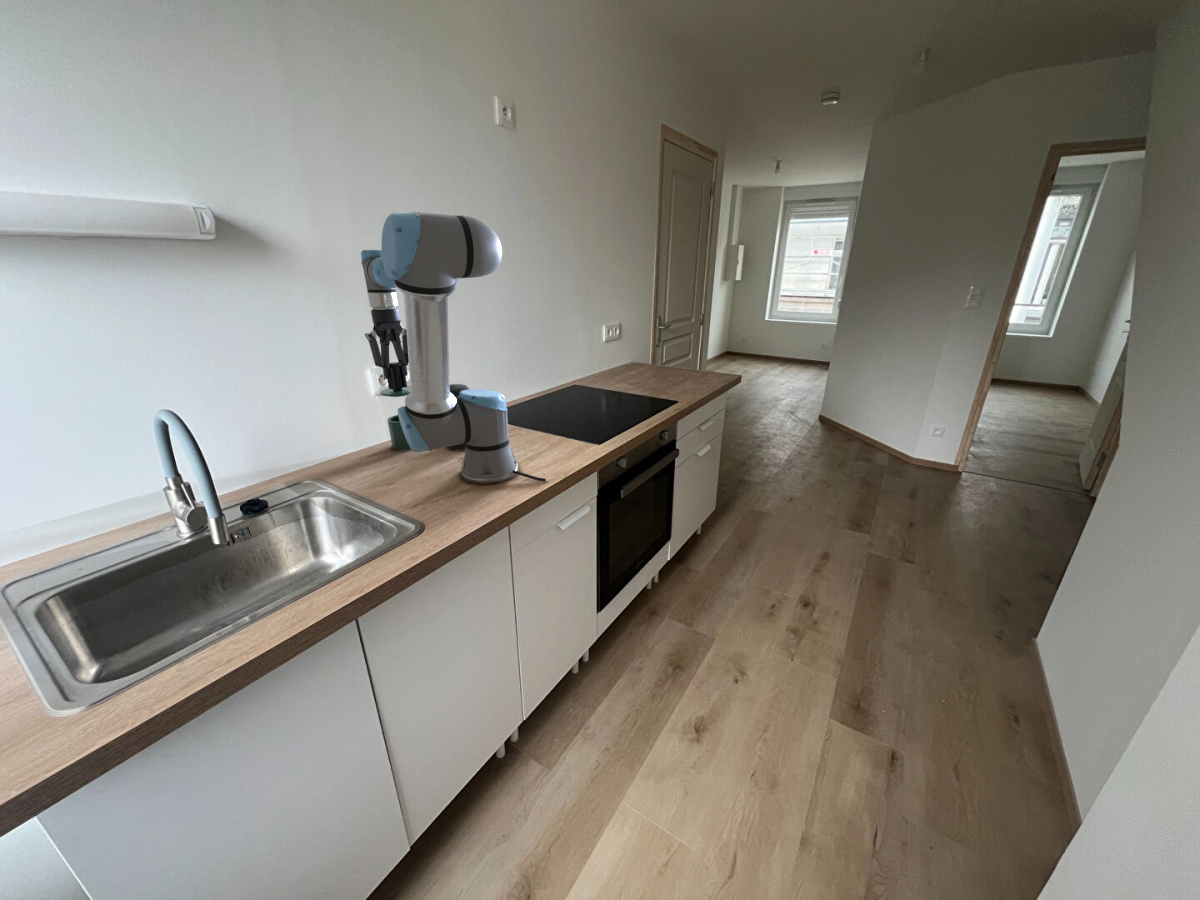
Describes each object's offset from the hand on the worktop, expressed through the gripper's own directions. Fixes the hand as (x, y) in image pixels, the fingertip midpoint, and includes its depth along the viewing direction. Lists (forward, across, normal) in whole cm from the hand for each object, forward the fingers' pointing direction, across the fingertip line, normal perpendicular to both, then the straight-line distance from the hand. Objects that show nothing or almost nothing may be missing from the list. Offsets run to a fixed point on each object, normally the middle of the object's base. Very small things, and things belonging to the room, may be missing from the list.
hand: (398, 387), depth 139 cm
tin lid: (+1, 0, 0) cm, 1 cm away
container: (+19, -10, +14) cm, 26 cm away
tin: (+19, 0, 0) cm, 19 cm away
